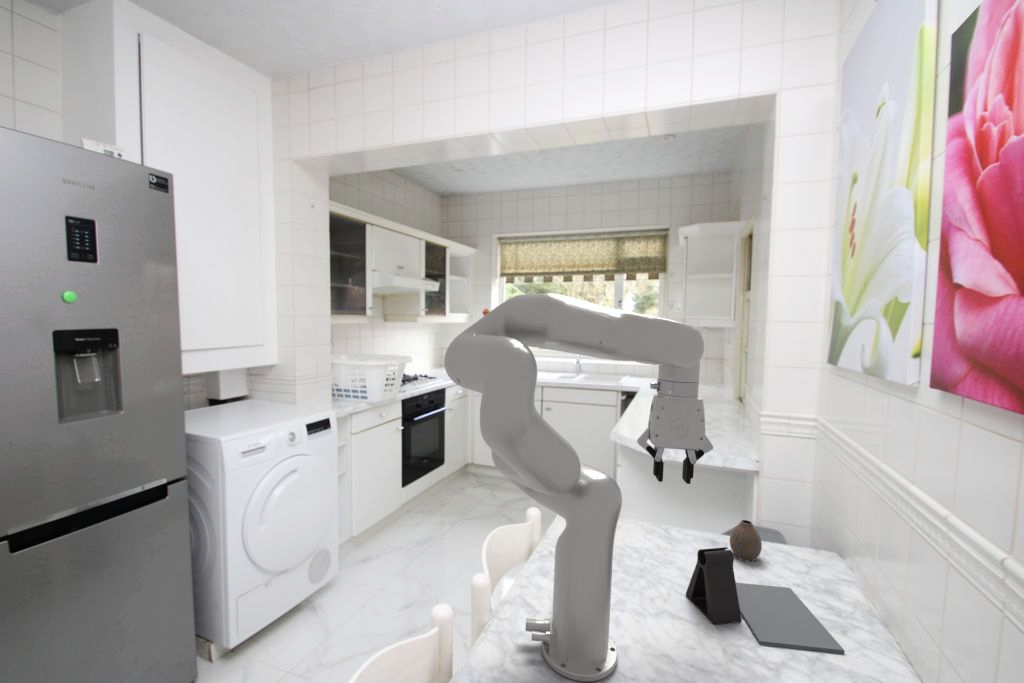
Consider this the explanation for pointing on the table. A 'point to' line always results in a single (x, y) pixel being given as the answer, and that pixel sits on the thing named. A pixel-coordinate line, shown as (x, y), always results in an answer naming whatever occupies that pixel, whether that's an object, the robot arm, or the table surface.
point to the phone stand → (715, 586)
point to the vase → (745, 541)
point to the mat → (782, 619)
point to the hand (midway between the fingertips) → (672, 479)
